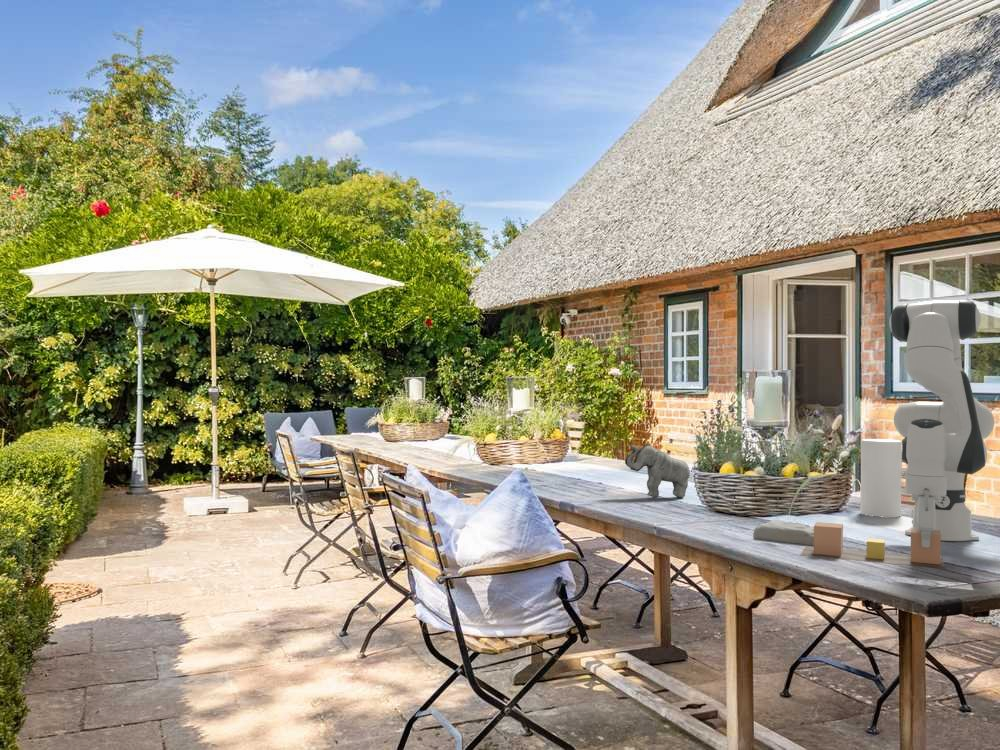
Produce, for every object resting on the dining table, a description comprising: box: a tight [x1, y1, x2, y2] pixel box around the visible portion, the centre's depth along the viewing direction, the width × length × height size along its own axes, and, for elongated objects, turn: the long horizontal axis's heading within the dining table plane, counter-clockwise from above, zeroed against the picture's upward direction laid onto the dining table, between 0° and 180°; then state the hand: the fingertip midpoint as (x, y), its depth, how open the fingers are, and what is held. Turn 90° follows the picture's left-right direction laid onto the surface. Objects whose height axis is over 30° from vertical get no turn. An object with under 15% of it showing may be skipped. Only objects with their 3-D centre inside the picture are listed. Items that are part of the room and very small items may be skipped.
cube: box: [866, 538, 886, 559], centre depth 212 cm, size 4×4×4 cm
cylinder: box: [859, 438, 903, 518], centre depth 288 cm, size 12×12×25 cm
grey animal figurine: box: [624, 444, 691, 499], centre depth 322 cm, size 25×9×20 cm, turn 100°
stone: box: [752, 519, 814, 546], centre depth 236 cm, size 21×15×5 cm
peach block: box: [813, 521, 844, 556], centre depth 217 cm, size 6×6×7 cm
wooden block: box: [910, 527, 942, 565], centre depth 207 cm, size 6×6×7 cm
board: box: [800, 545, 945, 570], centre depth 212 cm, size 13×32×1 cm, turn 65°
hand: (925, 543), depth 207 cm, fingers open, 7 cm apart
